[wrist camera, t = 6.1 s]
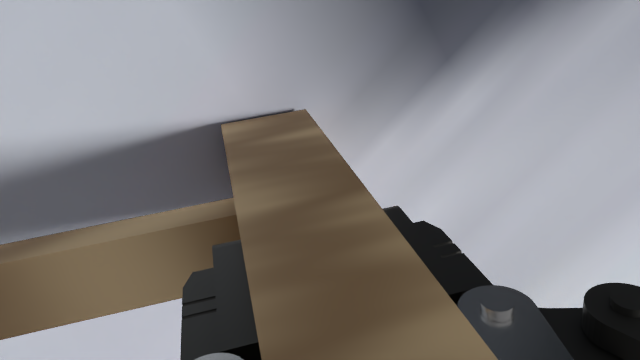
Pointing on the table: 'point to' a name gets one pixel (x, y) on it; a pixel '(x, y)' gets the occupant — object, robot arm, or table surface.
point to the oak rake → (257, 259)
